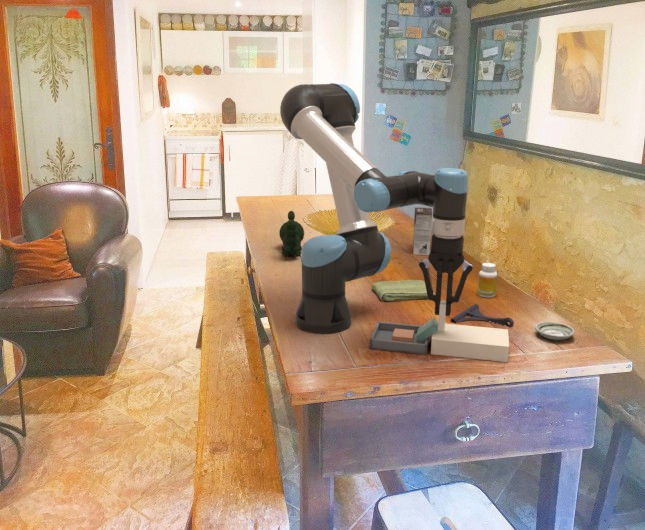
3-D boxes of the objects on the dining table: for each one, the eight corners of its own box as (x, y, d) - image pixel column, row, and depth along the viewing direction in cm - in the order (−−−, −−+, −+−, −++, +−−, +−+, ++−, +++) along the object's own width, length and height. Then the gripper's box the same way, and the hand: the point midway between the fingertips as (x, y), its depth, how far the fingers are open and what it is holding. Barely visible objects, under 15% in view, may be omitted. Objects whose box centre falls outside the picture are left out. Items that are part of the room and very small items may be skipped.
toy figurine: (305, 266, 227) (304, 242, 250) (304, 215, 220) (303, 195, 243) (278, 266, 227) (280, 242, 250) (277, 216, 220) (279, 195, 243)
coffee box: (412, 248, 244) (414, 207, 239) (429, 248, 243) (431, 207, 238) (412, 254, 236) (414, 212, 231) (430, 255, 235) (432, 212, 230)
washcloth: (437, 300, 191) (438, 290, 190) (381, 304, 187) (381, 293, 187) (423, 286, 203) (423, 276, 202) (369, 289, 200) (370, 279, 199)
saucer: (552, 347, 158) (553, 338, 157) (526, 333, 167) (527, 324, 166) (581, 340, 162) (583, 332, 161) (554, 327, 170) (555, 319, 170)
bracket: (501, 337, 165) (502, 327, 164) (449, 323, 174) (450, 314, 173) (522, 321, 176) (523, 311, 175) (473, 309, 185) (474, 300, 184)
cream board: (430, 354, 154) (431, 338, 152) (434, 336, 163) (435, 322, 162) (507, 362, 149) (509, 346, 148) (506, 344, 159) (508, 329, 158)
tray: (369, 348, 156) (369, 339, 156) (377, 330, 168) (377, 321, 167) (426, 354, 153) (426, 345, 152) (430, 335, 164) (431, 326, 164)
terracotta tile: (412, 338, 157) (412, 345, 157) (414, 330, 161) (414, 337, 162) (392, 336, 158) (391, 343, 158) (394, 328, 162) (394, 335, 163)
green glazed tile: (421, 342, 156) (416, 336, 156) (423, 334, 161) (418, 328, 161) (437, 331, 154) (432, 325, 154) (438, 323, 159) (433, 317, 159)
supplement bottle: (496, 298, 191) (498, 267, 188) (477, 297, 192) (480, 266, 189) (495, 292, 196) (497, 262, 193) (477, 291, 197) (479, 261, 194)
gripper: (418, 236, 148) (413, 330, 155) (475, 240, 145) (468, 335, 152) (421, 229, 155) (416, 319, 162) (476, 232, 152) (468, 323, 159)
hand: (441, 327), depth 157 cm, fingers closed
